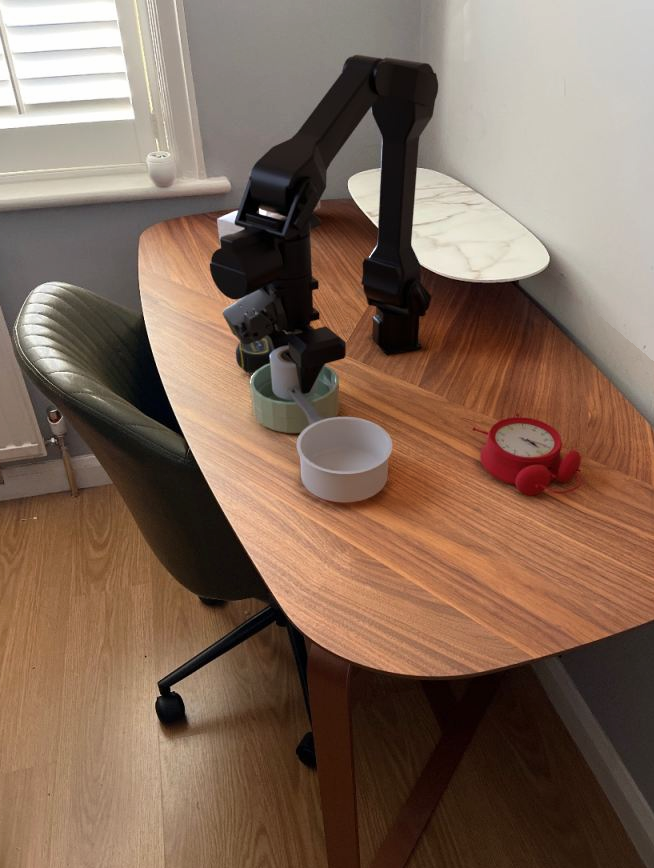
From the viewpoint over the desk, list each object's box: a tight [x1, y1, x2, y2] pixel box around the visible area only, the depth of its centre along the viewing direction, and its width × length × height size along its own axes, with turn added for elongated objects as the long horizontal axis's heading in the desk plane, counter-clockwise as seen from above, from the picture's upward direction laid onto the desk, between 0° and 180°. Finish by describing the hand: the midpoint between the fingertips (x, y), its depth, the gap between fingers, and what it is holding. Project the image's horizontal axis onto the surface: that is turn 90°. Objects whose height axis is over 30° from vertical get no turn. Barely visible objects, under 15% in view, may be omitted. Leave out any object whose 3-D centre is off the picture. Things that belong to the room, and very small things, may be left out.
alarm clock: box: [472, 412, 583, 496], centre depth 94 cm, size 10×6×15 cm
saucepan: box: [287, 387, 393, 503], centre depth 94 cm, size 12×20×6 cm, turn 31°
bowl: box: [249, 363, 340, 434], centre depth 103 cm, size 12×12×5 cm
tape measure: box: [235, 336, 273, 374], centre depth 113 cm, size 7×7×4 cm
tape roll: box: [270, 345, 318, 400], centre depth 101 cm, size 6×6×5 cm
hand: (294, 381), depth 102 cm, fingers closed on tape roll, 6 cm apart
